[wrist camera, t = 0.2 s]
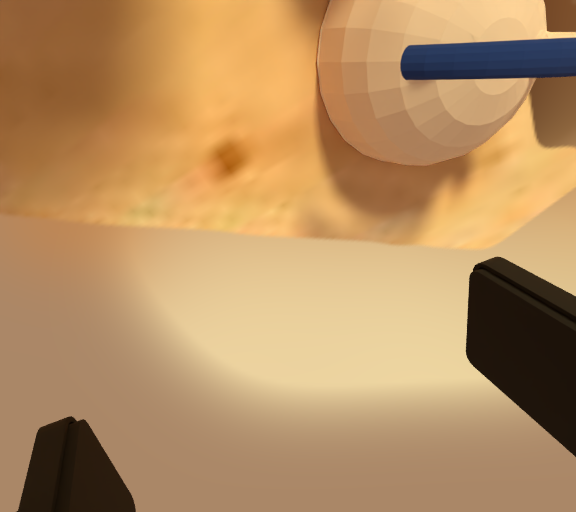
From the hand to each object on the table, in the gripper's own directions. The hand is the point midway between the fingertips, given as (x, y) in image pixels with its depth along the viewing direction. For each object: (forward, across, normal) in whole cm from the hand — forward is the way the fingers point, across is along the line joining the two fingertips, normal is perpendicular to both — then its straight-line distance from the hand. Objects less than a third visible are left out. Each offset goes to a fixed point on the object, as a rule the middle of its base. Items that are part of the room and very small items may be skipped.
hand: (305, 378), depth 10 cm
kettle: (+31, -24, -2) cm, 40 cm away
